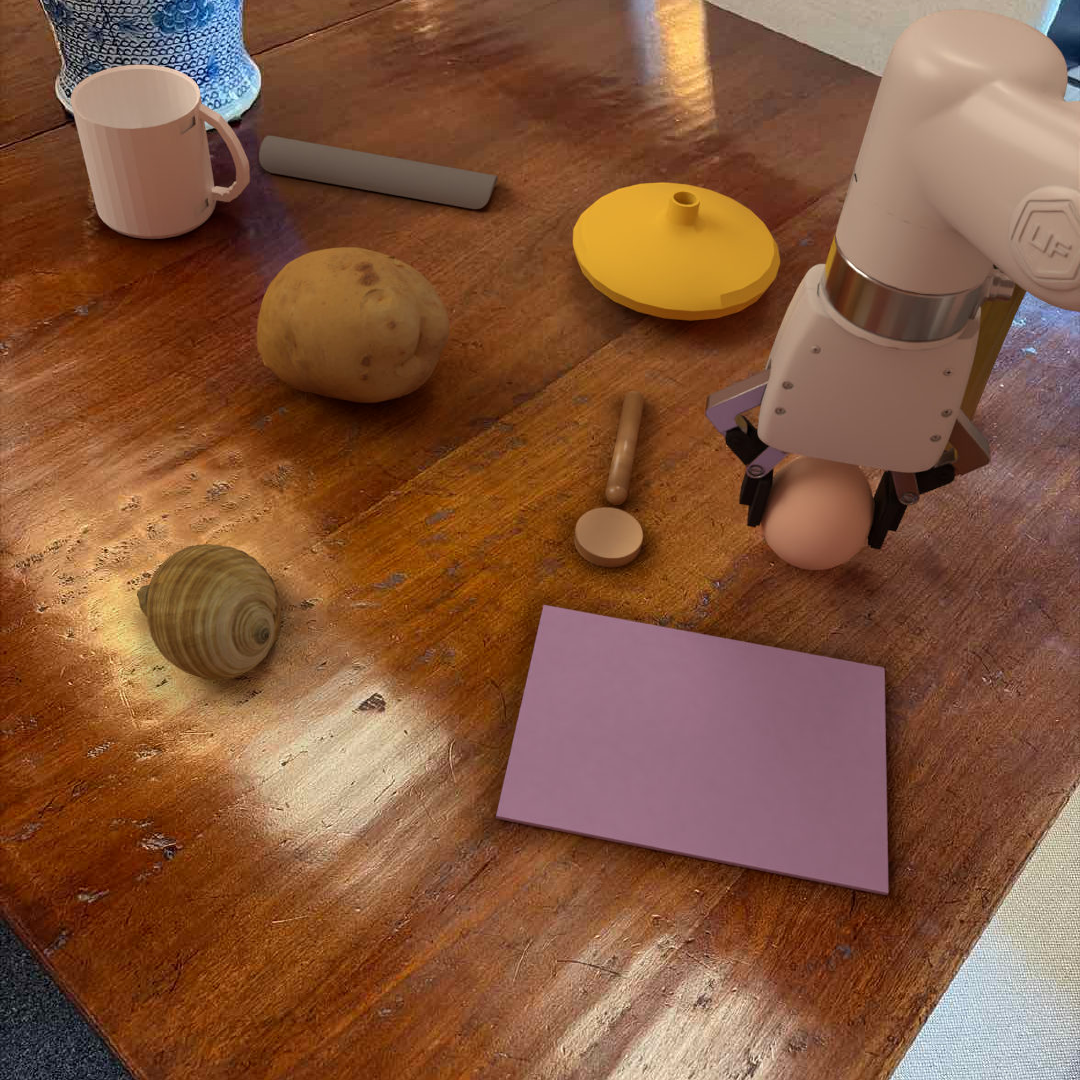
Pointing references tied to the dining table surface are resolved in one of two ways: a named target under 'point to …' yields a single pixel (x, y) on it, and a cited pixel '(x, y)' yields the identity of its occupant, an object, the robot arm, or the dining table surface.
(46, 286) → the dining table surface
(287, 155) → the half round rod
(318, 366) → the potato
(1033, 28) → the robot arm
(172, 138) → the mug
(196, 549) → the seashell
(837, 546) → the egg
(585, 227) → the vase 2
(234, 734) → the dining table surface
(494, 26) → the dining table surface
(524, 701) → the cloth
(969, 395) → the vase
